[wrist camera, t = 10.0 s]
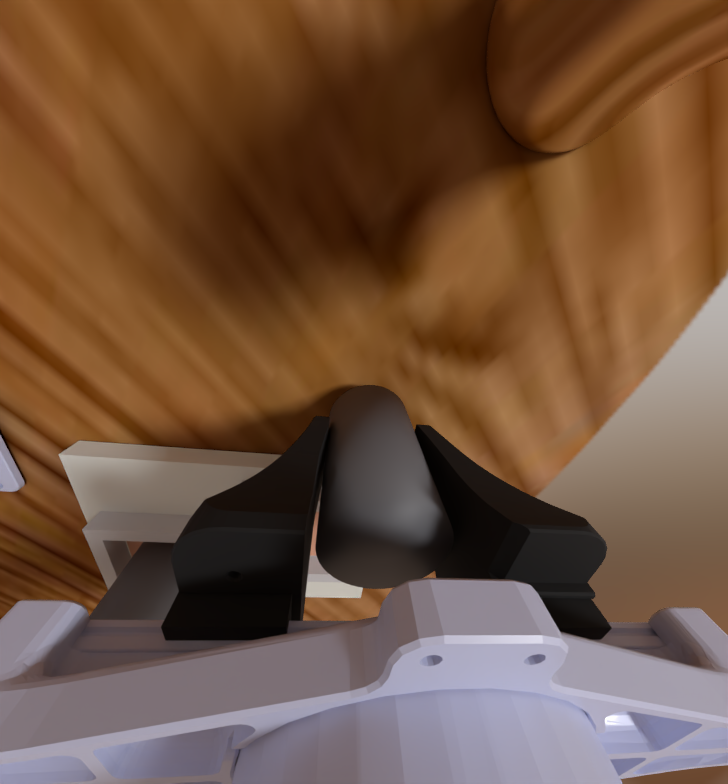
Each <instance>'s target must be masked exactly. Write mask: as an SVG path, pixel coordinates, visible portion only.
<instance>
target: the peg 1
mask: <svg viewBox="0 0 728 784" xmlns="http://www.w3.org/2000/svg"><path fill="white" fill-rule="evenodd" d="M174 544H175V543H166V542H143V543H142V544H141V546H140V547H139V548H138V550H137V551H136V553H135V554H134V555H133V557H132V558H131V559H130V561H129V562H128V564H127V565H126V566H125V568H124V569H123V571H122V572H121V573H120V575H119V576H118V577H117V579H116V580H115V582H114V583H113V584H112V586H111V587H110V589H109V590H108V591H107V593H106V594H105V595H104V597H103V598H102V600H101V601H100V602H99V604H98V605H97V607H96V608H95V609H94V611H93V612H92V613H91V615H90V616H89V618H90V620H165V618H166V616H167V614H168V612H169V610H170V608H171V606H172V604H173V602H174V600H175V598H176V596H177V594H178V592H179V591H178V587H177V583H176V579H175V575H174V571H173V567H172V563H171V551H172V549H173V546H174Z"/></svg>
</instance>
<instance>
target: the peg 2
mask: <svg viewBox="0 0 728 784" xmlns="http://www.w3.org/2000/svg"><path fill="white" fill-rule="evenodd" d="M329 417H330V419H329V430H328V440H327V446H326V453H325V461H324V471H323V480H322V489H321V498H320V507H319V517H318V526H317V535H316V544H315V550H316V556H317V559H318V561H319V563H320V564H321V566H322V567H323V569H324V570H325V571H326V572H327V573H329V574H330V575H331V576H332V577H334V578H336V579H337V580H339V581H341V582H344V583H346V584H349V585H352V586H357V587H362V588H372V589H383V588H392V587H396V586H398V585H400V584H402V583H404V582H406V581H408V580H415V579H422V578H423V577H425V576H427V575H429V574H430V573H432V572H433V571H435V570H436V569H437V568H438V567H439V566H440V565H441V564H442V563H443V562H444V561H445V560H446V558H447V557H448V555H449V553H450V551H451V549H452V546H453V541H454V533H453V529H452V525H451V523H450V520H449V518H448V515H447V513H446V510H445V508H444V505H443V503H442V500H441V498H440V495H439V492H438V490H437V487H436V485H435V482H434V480H433V477H432V475H431V472H430V470H429V467H428V465H427V462H426V460H425V457H424V455H423V452H422V449H421V447H420V444H419V442H418V439H417V437H416V434H415V432H414V429H413V427H412V424H411V422H410V419H409V417H408V414H407V411H406V409H405V406H404V404H403V402H402V401H401V399H400V398H399V397H398V396H397V395H396V394H395V393H393V392H392V391H390V390H388V389H386V388H384V387H380V386H375V385H364V386H358V387H355V388H352V389H350V390H348V391H346V392H345V393H343V394H342V395H341V396H340V397H339V398H338V399H337V400H336V401H335V403H334V404H333V406H332V408H331V411H330V416H329Z"/></svg>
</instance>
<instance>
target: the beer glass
mask: <svg viewBox="0 0 728 784" xmlns="http://www.w3.org/2000/svg"><path fill="white" fill-rule="evenodd" d="M725 59H728V0H496V3H495V6H494V10H493V14H492V18H491V22H490V28H489V34H488V41H487V55H486V68H487V81H488V87H489V93H490V97H491V101H492V104H493V107H494V110H495V112H496V115H497V117H498V119H499V121H500V122H501V124H502V126H503V127H504V129H505V130H506V131H507V133H508V134H509V135H510V136H511V137H512V138H513V139H514V140H515V141H517V142H518V143H519V144H521V145H522V146H524V147H526V148H528V149H530V150H533V151H536V152H540V153H561V152H566V151H570V150H573V149H576V148H579V147H581V146H583V145H585V144H587V143H589V142H591V141H593V140H595V139H596V138H598V137H599V136H601V135H602V134H604V133H605V132H607V131H608V130H610V129H611V128H612V127H614V126H615V125H616V124H618V123H619V122H620V121H622V120H623V119H624V118H625V117H627V116H628V115H629V114H631V113H632V112H633V111H635V110H636V109H637V108H639V107H640V106H641V105H642V104H644V103H645V102H646V101H648V100H649V99H651V98H652V97H654V96H655V95H656V94H658V93H659V92H661V91H662V90H664V89H666V88H668V87H669V86H671V85H673V84H674V83H676V82H678V81H680V80H681V79H683V78H685V77H687V76H690V75H692V74H694V73H696V72H698V71H700V70H702V69H704V68H706V67H708V66H710V65H713V64H715V63H717V62H720V61H723V60H725Z"/></svg>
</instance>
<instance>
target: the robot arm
mask: <svg viewBox="0 0 728 784" xmlns="http://www.w3.org/2000/svg"><path fill="white" fill-rule="evenodd" d="M329 419H330V417H322V416H316V417H314V418H313V420H312V422H311V423H310V425H309V426H308V427H307V429H306V430H305V431H304V432H303V434H302V435H301V436H300V437H299V438H298V439H297V441H296V442H295V443H294V444H293V445H292V446H291V447H290V448H289V449H288V450H287V451H286V452H285V453H283V454H282V455H281V456H280V457H279V458H278V459H276V460H275V461H274V462H273V463H271V464H270V465H269V466H267V467H266V468H265V469H263V470H262V471H260V472H259V473H257V474H256V475H254V476H252V477H251V478H249V479H247V480H245V481H243V482H242V483H240V484H238V485H236V486H234V487H232V488H230V489H227V490H225V491H223V492H221V493H218V494H216V495H214V496H212V497H209V498H207V499H205V500H204V501H203V502H202V504H201V505H200V506H199V508H198V509H197V510H196V511H195V513H194V514H193V515H192V517H191V518H190V519H189V521H188V523H187V524H186V526H185V527H184V529H183V531H182V532H181V534H180V536H179V537H178V539H177V541H176V542H175V544H174V546H173V549H172V551H171V563H172V567H173V571H174V575H175V579H176V583H177V587H178V591H179V592H178V594H177V596H176V598H175V600H174V602H173V604H172V606H171V608H170V610H169V612H168V614H167V616H166V618H165V620H90V618H89V614H88V611H87V609H86V607H85V606H84V605H83V604H81V603H78V602H76V601H70V600H21V601H18V602H17V603H16V604H15V605H14V606H13V607H12V608H11V609H10V610H9V611H8V612H7V613H6V614H5V615H4V617H3V618H2V619H1V620H0V784H623V783H622V781H621V780H620V779H623V778H630V777H635V776H643V775H649V774H655V773H662V772H669V771H677V770H684V769H693V768H701V767H710V766H722V765H728V636H727V635H726V634H725V633H724V632H723V631H722V630H721V629H720V628H719V627H718V626H717V625H716V624H715V623H714V622H713V621H712V620H711V619H710V618H709V617H708V616H707V615H706V614H705V613H704V612H703V611H702V610H701V609H699V608H690V607H689V608H688V607H669V608H664V609H661V610H659V611H657V612H656V613H654V614H653V615H652V616H651V618H650V619H649V621H648V623H646V622H644V623H643V622H642V623H641V622H640V623H639V622H637V623H636V622H633V623H632V622H607V620H606V619H605V618H604V616H603V615H602V614H601V612H600V611H599V609H598V608H597V606H596V605H595V604H594V602H593V601H592V600H591V599H593V598H594V597H595V592H594V591H593V590H592V588H591V587H590V586H589V584H588V583H587V582H588V581H589V579H590V578H591V577H592V575H593V574H594V573H595V572H596V570H597V569H598V568H599V566H600V565H601V563H602V562H603V560H604V559H605V556H606V551H607V546H606V542H605V541H604V539H603V538H602V537H601V536H600V535H599V534H598V533H597V532H596V530H595V529H594V528H593V527H592V526H591V525H590V524H589V523H588V522H587V520H586V519H584V518H583V517H580V516H578V515H575V514H573V513H570V512H568V511H565V510H562V509H560V508H558V507H555V506H552V505H550V504H548V503H545V502H544V501H541V500H539V499H537V498H535V497H533V496H530V495H528V494H526V493H524V492H522V491H520V490H519V489H517V488H515V487H513V486H511V485H509V484H508V483H506V482H504V481H502V480H501V479H499V478H497V477H496V476H494V475H493V474H491V473H489V472H488V471H486V470H485V469H483V468H482V467H480V466H479V465H477V464H476V463H475V462H473V461H472V460H471V459H469V458H468V457H467V456H465V455H464V454H463V453H462V452H460V451H459V450H458V449H457V448H456V447H454V446H453V445H452V444H451V443H450V442H449V441H447V440H446V439H445V438H444V437H443V436H442V435H440V434H439V433H438V432H437V431H436V430H434V429H433V428H432V427H431V426H429V425H416V429H415V434H416V437H417V439H418V442H419V444H420V447H421V449H422V452H423V455H424V457H425V460H426V462H427V465H428V467H429V470H430V472H431V475H432V477H433V480H434V482H435V485H436V487H437V490H438V492H439V495H440V498H441V500H442V503H443V505H444V508H445V510H446V513H447V515H448V518H449V520H450V523H451V525H452V529H453V533H454V541H453V546H452V549H451V551H450V553H449V555H448V557H447V558H446V560H445V561H444V562H443V563H442V564H441V565H440V566H439V567H438V568H437V569H436V570H435V572H436V578H422V579H415V580H408V581H406V582H404V583H402V584H400V585H398V586H396V587H394V588H393V589H392V590H391V592H390V593H389V594H388V596H387V597H386V598H385V600H384V601H383V602H382V605H381V609H380V612H379V616H378V617H373V618H368V619H362V620H357V621H303V613H304V604H305V595H306V587H307V578H308V569H309V560H310V552H311V543H312V535H313V526H314V520H315V515H316V510H317V505H318V501H319V496H320V491H321V487H322V480H323V471H324V461H325V453H326V446H327V440H328V430H329ZM24 485H25V483H24V480H23V478H22V476H21V474H20V472H19V470H18V468H17V466H16V464H15V462H14V460H13V458H12V456H11V454H10V452H9V450H8V448H7V446H6V444H5V442H4V440H3V438H2V437H1V435H0V491H10V492H13V491H17V490H19V489H20V488H22V487H23V486H24Z"/></svg>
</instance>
